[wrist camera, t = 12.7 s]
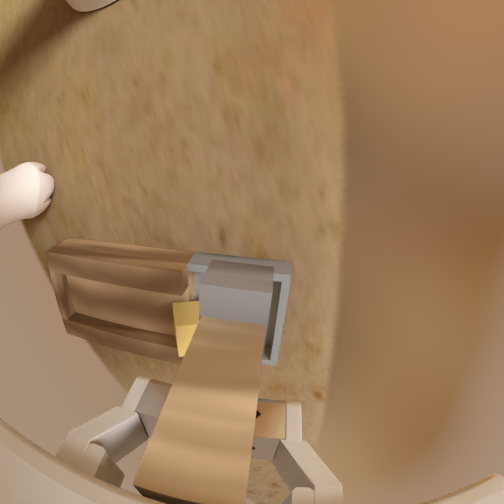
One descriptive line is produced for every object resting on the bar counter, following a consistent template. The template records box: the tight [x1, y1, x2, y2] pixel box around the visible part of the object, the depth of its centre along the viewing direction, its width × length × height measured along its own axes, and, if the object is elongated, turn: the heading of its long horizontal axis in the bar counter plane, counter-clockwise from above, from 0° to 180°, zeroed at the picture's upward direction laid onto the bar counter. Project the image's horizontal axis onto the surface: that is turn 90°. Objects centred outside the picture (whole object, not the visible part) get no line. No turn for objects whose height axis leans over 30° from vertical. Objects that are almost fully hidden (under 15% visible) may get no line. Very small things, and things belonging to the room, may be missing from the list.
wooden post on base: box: [133, 259, 274, 504], centre depth 10 cm, size 6×3×10 cm, turn 175°
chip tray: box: [188, 252, 291, 366], centre depth 30 cm, size 12×10×3 cm
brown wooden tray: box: [45, 238, 196, 364], centre depth 30 cm, size 12×18×5 cm, turn 86°
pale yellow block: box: [172, 301, 199, 357], centre depth 28 cm, size 4×4×4 cm
